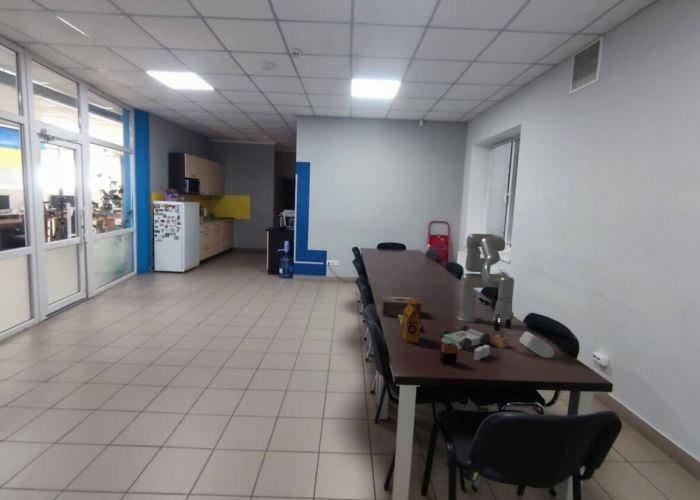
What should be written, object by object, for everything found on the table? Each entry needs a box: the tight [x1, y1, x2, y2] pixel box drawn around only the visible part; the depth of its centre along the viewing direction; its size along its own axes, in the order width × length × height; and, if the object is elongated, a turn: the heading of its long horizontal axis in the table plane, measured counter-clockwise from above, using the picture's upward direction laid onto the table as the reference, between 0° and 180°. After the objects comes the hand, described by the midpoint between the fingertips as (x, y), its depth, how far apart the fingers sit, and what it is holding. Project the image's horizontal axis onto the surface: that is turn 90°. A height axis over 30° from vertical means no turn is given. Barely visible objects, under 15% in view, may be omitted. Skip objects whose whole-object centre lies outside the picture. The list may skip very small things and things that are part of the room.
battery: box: [439, 342, 459, 365], centre depth 184 cm, size 4×7×10 cm, turn 98°
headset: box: [478, 287, 499, 310], centre depth 282 cm, size 18×14×29 cm
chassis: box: [439, 324, 491, 351], centre depth 213 cm, size 24×17×6 cm
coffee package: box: [401, 299, 421, 344], centre depth 212 cm, size 10×12×22 cm
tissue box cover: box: [380, 295, 423, 318], centre depth 261 cm, size 26×14×10 cm, turn 89°
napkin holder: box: [473, 344, 491, 361], centre depth 193 cm, size 15×11×6 cm
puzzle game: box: [397, 315, 422, 330], centre depth 236 cm, size 12×5×20 cm
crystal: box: [519, 330, 555, 359], centre depth 206 cm, size 7×7×24 cm
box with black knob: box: [492, 334, 509, 349], centre depth 210 cm, size 6×4×6 cm
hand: (502, 329), depth 209 cm, fingers open, 9 cm apart
